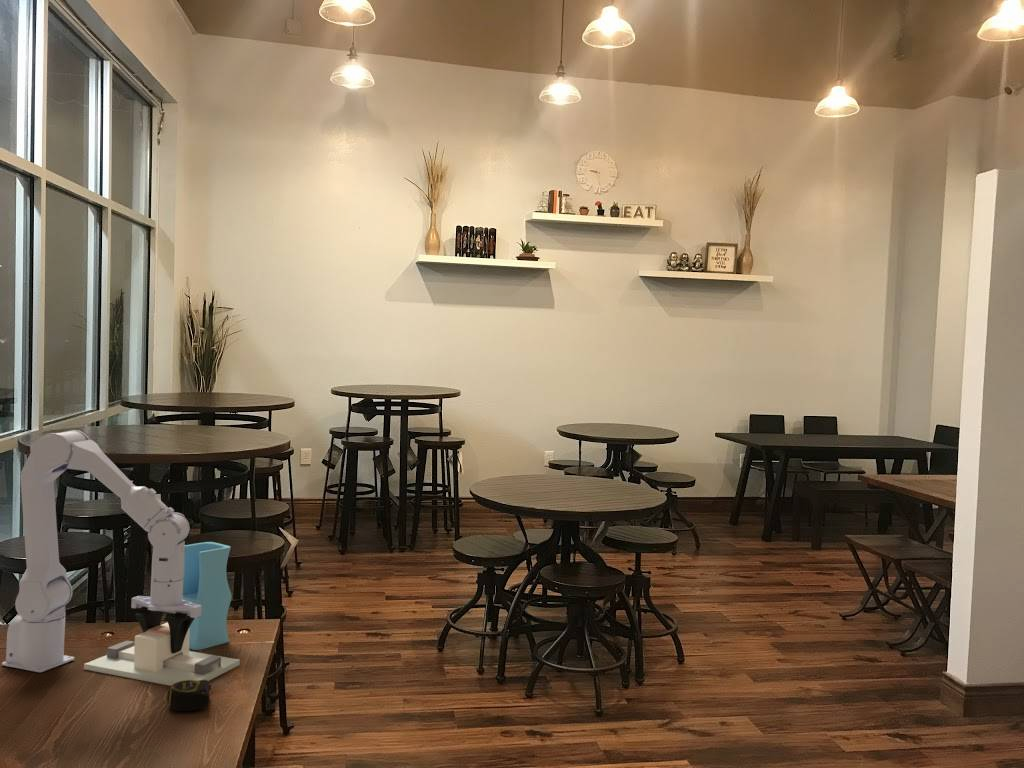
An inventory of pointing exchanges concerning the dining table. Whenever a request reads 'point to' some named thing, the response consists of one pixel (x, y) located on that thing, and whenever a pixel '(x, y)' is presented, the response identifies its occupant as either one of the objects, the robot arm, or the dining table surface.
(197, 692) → the tape measure
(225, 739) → the dining table surface
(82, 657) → the dining table surface
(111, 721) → the dining table surface
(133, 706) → the dining table surface
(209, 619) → the vase
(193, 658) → the rail board
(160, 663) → the block
